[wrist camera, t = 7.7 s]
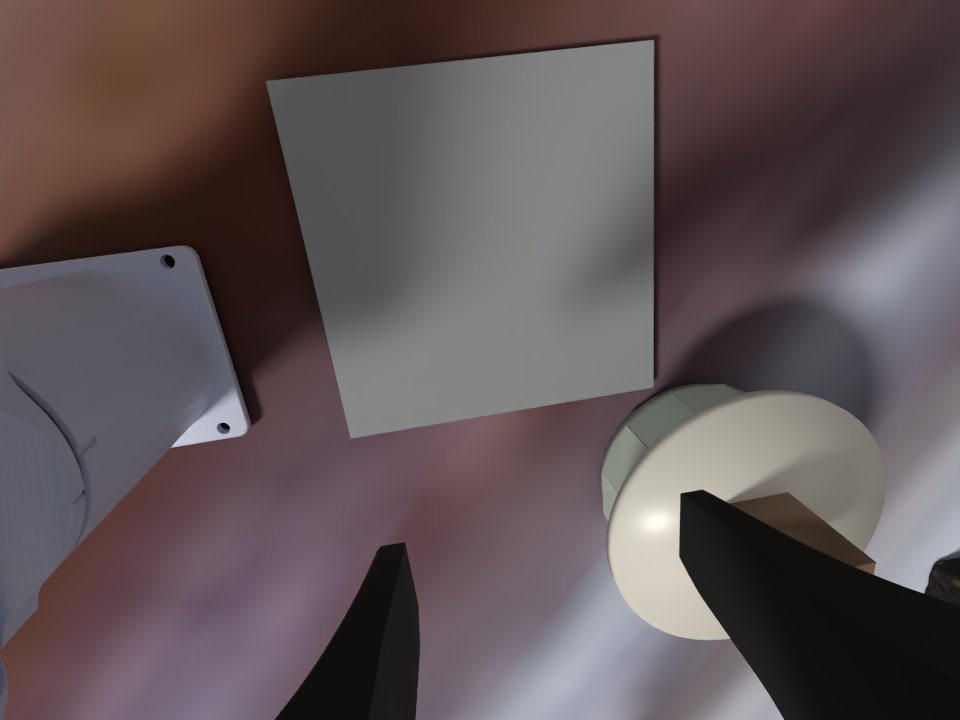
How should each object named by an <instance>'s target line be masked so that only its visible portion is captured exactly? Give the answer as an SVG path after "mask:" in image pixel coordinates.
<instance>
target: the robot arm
mask: <svg viewBox="0 0 960 720" xmlns="http://www.w3.org/2000/svg"><path fill="white" fill-rule="evenodd" d="M166 255H170V256H172V257H173V258H174V260H175V266H174V267H170V266H168V265H167V264H166V262H165V256H166ZM220 423H226V424H228V425H229V427H230V429H229V430H225V429H223V428H222V427H221V425H220ZM250 425H251V422H250V418H249V415H248V412H247V408H246V405H245V402H244V399H243V396H242V392H241V389H240V386H239V383H238V380H237V376H236V373H235V370H234V367H233V364H232V361H231V357H230V354H229V351H228V348H227V345H226V341H225V338H224V335H223V332H222V329H221V325H220V322H219V319H218V316H217V313H216V309H215V306H214V303H213V300H212V297H211V293H210V290H209V287H208V284H207V281H206V277H205V274H204V271H203V268H202V265H201V261H200V258H199V256H198V254H197V252H196V251H195V250H194V249H193V248H191V247H189V246H184V245H180V246H172V247H165V248H157V249H149V250H142V251H134V252H127V253H119V254H111V255H104V256H96V257H89V258H81V259H73V260H66V261H58V262H51V263H43V264H36V265H28V266H20V267H13V268H5V269H0V649H1V648H2V647H3V646H4V645H5V644H6V643H7V642H8V641H9V639H10V638H11V637H12V636H13V635H14V634H15V633H16V632H17V631H18V629H19V628H20V627H21V626H22V625H23V624H24V623H25V622H26V621H27V619H28V618H29V617H30V616H31V615H32V614H33V613H34V612H35V611H36V609H37V608H38V593H39V590H40V587H41V586H42V584H43V583H44V581H45V580H46V579H47V578H48V577H49V576H50V575H51V574H52V573H53V572H54V571H55V570H56V569H57V568H58V567H59V565H60V564H61V563H62V562H63V561H64V560H65V559H66V558H67V557H68V556H69V555H70V554H71V553H72V552H73V551H74V550H75V548H76V547H77V546H78V545H79V544H80V543H81V542H82V541H83V540H84V539H85V538H86V537H87V536H88V535H89V534H90V533H91V532H92V530H93V529H94V528H95V527H96V526H97V525H98V524H99V523H100V522H101V521H102V520H103V519H104V518H105V517H106V516H107V515H108V513H109V512H110V511H111V510H112V509H113V508H114V507H115V506H116V505H117V504H118V503H119V502H120V501H121V500H122V499H123V498H124V497H125V495H126V494H127V493H128V492H129V491H130V490H131V489H132V488H133V487H134V486H135V485H136V484H137V483H138V482H139V481H140V480H141V479H142V477H143V476H144V475H145V474H146V473H147V472H148V471H149V470H150V469H151V468H152V467H153V466H154V465H155V464H156V463H157V462H158V461H159V459H160V458H161V457H162V456H163V455H164V454H165V453H166V452H167V451H168V450H169V449H170V448H172V447H178V446H184V445H190V444H196V443H202V442H208V441H214V440H220V439H226V438H232V437H238V436H242V435H244V434H245V433H246V432H247V431H248V430H249V428H250ZM679 558H680V559H681V561H682V563H683V565H684V567H685V569H686V571H687V573H688V575H689V577H690V578H691V580H692V582H693V584H694V586H695V587H696V589H697V591H698V593H699V594H700V596H701V597H702V599H703V600H704V602H705V603H706V605H707V606H708V607H709V609H710V610H711V612H712V613H713V615H714V616H715V617H716V619H717V620H718V622H719V623H720V625H721V626H722V627H723V629H724V630H725V632H726V633H727V634H728V636H729V637H730V639H731V640H732V641H733V643H734V644H735V646H736V647H737V648H738V650H739V651H740V653H741V654H742V655H743V657H744V658H745V660H746V661H747V662H748V664H749V665H750V667H751V668H752V670H753V671H754V672H755V674H756V675H757V677H758V678H759V680H760V681H761V683H762V684H763V686H764V687H765V689H766V690H767V692H768V693H769V695H770V696H771V698H772V700H773V701H774V703H775V705H776V706H777V708H778V710H779V711H780V713H781V715H782V717H783V718H784V720H960V606H959V605H956V604H952V603H949V602H946V601H943V600H940V599H937V598H935V597H932V596H929V595H926V594H923V593H920V592H917V591H914V590H912V589H909V588H906V587H903V586H901V585H898V584H895V583H893V582H890V581H887V580H885V579H882V578H880V577H877V576H875V575H873V574H870V573H868V572H865V571H863V570H861V569H858V568H856V567H853V566H851V565H849V564H846V563H844V562H842V561H840V560H837V559H835V558H833V557H831V556H829V555H827V554H825V553H822V552H820V551H818V550H816V549H814V548H812V547H810V546H808V545H806V544H804V543H802V542H800V541H798V540H796V539H794V538H792V537H790V536H788V535H786V534H784V533H782V532H780V531H779V530H777V529H775V528H773V527H771V526H769V525H767V524H766V523H764V522H762V521H760V520H758V519H756V518H755V517H753V516H751V515H749V514H747V513H746V512H744V511H742V510H740V509H738V508H737V507H735V506H733V505H731V504H729V503H728V502H726V501H724V500H722V499H720V498H718V497H717V496H715V495H713V494H711V493H709V492H707V491H705V490H697V491H691V492H686V493H680V533H679ZM419 655H420V634H419V610H418V601H417V597H416V592H415V587H414V582H413V578H412V573H411V568H410V564H409V559H408V554H407V549H406V545H405V542H403V543H398V544H392V545H386V546H381V547H380V548H379V549H378V551H377V552H376V555H375V557H374V560H373V562H372V564H371V566H370V569H369V571H368V573H367V575H366V577H365V579H364V581H363V583H362V585H361V587H360V589H359V591H358V593H357V595H356V597H355V599H354V601H353V603H352V604H351V606H350V608H349V610H348V612H347V614H346V616H345V617H344V619H343V621H342V623H341V624H340V626H339V628H338V629H337V631H336V633H335V634H334V636H333V638H332V639H331V641H330V643H329V644H328V646H327V647H326V649H325V651H324V652H323V654H322V655H321V657H320V658H319V660H318V661H317V663H316V664H315V666H314V667H313V669H312V670H311V672H310V673H309V675H308V676H307V678H306V679H305V680H304V682H303V683H302V685H301V686H300V687H299V689H298V690H297V691H296V693H295V694H294V695H293V697H292V698H291V699H290V701H289V702H288V703H287V704H286V706H285V707H284V708H283V710H282V711H281V712H280V713H279V715H278V716H277V717H276V719H275V720H415V717H416V702H417V687H418V671H419ZM7 699H8V679H7V675H6V672H5V668H4V665H3V662H2V658H1V655H0V720H3V717H4V712H5V708H6V703H7Z"/></svg>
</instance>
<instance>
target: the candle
mask: <svg viewBox="0 0 960 720" xmlns="http://www.w3.org/2000/svg"><path fill="white" fill-rule="evenodd" d="M925 594H926V595H929V596H932V597H935V598H937V599H940V600H943V601H946V602H949V603H952V604H956V605H959V606H960V559H954V560H946V561H941V562H939V563H936V564H935V566H934V568H933V570H932V573H931V575H930V577H929V584H928V587H927V590H926V592H925Z"/></svg>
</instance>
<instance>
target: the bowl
mask: <svg viewBox="0 0 960 720" xmlns="http://www.w3.org/2000/svg"><path fill="white" fill-rule="evenodd" d="M744 393H746V392H743V391H741V390H738V389H736V388H733V387H731V386H728V385H726V384H711V383H698V384H688V385H684V386H680V387H676V388H673V389H670V390H667V391H665V392H663V393H661V394H659V395H657V396H655V397H653V398H651V399H650V400H648V401H646V402H645V403H643V404H642V405H641V406H639V407H638V408H637V409H636V410H635V411H633V412H632V413H631V414H630V415H629V416H628V417H627V418H626V419H625V420H624V421H623V423H622V424H621V425H620V426H619V428H618V429H617V430H616V432H615V433H614V435H613V437H612V438H611V440H610V442H609V444H608V446H607V448H606V450H605V453H604V456H603V460H602V464H601V469H600V489H601V495H602V498H603V513H604V515H605V517H606V519H607V520H608V522H609V517H610V513H611V510H612V507H613V504H614V501H615V498H616V496H617V494H618V492H619V490H620V488H621V486H622V484H623V482H624V480H625V478H626V477H627V475H628V474H629V472H630V471H631V469H632V468H633V466H634V465H635V464H636V462H637V461H638V460H639V459H640V457H641V456H642V455H643V454H644V453H645V451H646V450H647V449H648V448H649V447H650V446H651V445H652V444H653V443H654V442H655V441H656V440H657V439H658V438H659V437H660V436H662V435H663V434H664V433H665V432H667V431H668V430H669V429H670V428H672V427H673V426H674V425H675V424H677V423H678V422H680V421H681V420H683V419H685V418H686V417H688V416H689V415H691V414H692V413H694V412H696V411H698V410H700V409H702V408H704V407H706V406H708V405H710V404H712V403H715V402H717V401H720V400H723V399H726V398H729V397H731V396H735V395H739V394H744Z"/></svg>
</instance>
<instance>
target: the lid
mask: <svg viewBox="0 0 960 720" xmlns="http://www.w3.org/2000/svg"><path fill="white" fill-rule="evenodd" d="M885 488H886V487H885V469H884V464H883V458H882V456H881V453H880V450H879V448H878V445H877V443H876V441H875V440H874V438H873V436H872V435H871V433H870V432H869V430H868V429H867V428H866V427H865V426H864V425H863V424H862V423H861V421H860V420H858V419H857V418H856V417H854V416H853V415H852V414H851V413H849V412H848V411H846V410H844V409H842V408H840V407H838V406H837V405H835V404H833V403H831V402H829V401H827V400H825V399H823V398H820V397H817V396H814V395H811V394H808V393H804V392H798V391H792V390H762V391H753V392H748V393H744V394H739V395H735V396H731V397H729V398H726V399H723V400H720V401H717V402H715V403H712V404H710V405H708V406H706V407H704V408H702V409H700V410H698V411H696V412H694V413H692V414H691V415H689V416H688V417H686V418H685V419H683V420H681V421H680V422H678V423H677V424H675V425H674V426H673V427H672V428H670V429H669V430H668V431H667V432H665V433H664V434H663V435H662V436H660V437H659V438H658V439H657V440H656V441H655V442H654V443H653V444H652V445H651V446H650V447H649V448H648V449H647V450H646V451H645V453H644V454H643V455H642V456H641V457H640V459H639V460H638V461H637V462H636V464H635V465H634V466H633V468H632V469H631V471H630V472H629V474H628V475H627V477H626V478H625V480H624V482H623V484H622V486H621V488H620V490H619V492H618V494H617V496H616V498H615V501H614V504H613V507H612V510H611V513H610V517H609V522H608V527H607V539H606V549H607V557H608V563H609V566H610V570H611V573H612V576H613V578H614V580H615V582H616V584H617V586H618V588H619V590H620V592H621V594H622V596H623V598H624V599H625V600H626V602H627V603H628V605H629V606H630V607H631V609H632V610H633V611H634V612H635V613H636V614H637V615H639V616H640V617H641V618H642V619H643V620H645V621H646V622H647V623H649V624H650V625H652V626H653V627H655V628H658V629H660V630H662V631H664V632H666V633H669V634H672V635H676V636H679V637H684V638H690V639H698V640H720V639H730V637H729V636H728V634H727V633H726V632H725V630H724V629H723V627H722V626H721V625H720V623H719V622H718V620H717V619H716V617H715V616H714V615H713V613H712V612H711V610H710V609H709V607H708V606H707V605H706V603H705V602H704V600H703V599H702V597H701V596H700V594H699V593H698V591H697V589H696V587H695V586H694V584H693V582H692V580H691V578H690V577H689V575H688V573H687V571H686V569H685V567H684V565H683V563H682V561H681V559H680V558H679V533H680V493H686V492H691V491H697V490H705V491H707V492H709V493H711V494H713V495H715V496H717V497H718V498H720V499H722V500H724V501H726V502H728V503H729V504H731V505H733V506H735V507H737V508H738V509H740V510H742V511H744V512H746V513H747V514H749V515H751V516H753V517H755V518H756V519H758V520H760V521H762V522H764V523H766V524H767V525H769V526H771V527H773V528H775V529H777V530H779V531H780V532H782V533H784V534H786V535H788V536H790V537H792V538H794V539H796V540H798V541H800V542H802V543H804V544H806V545H808V546H810V547H812V548H814V549H816V550H818V551H820V552H822V553H825V554H827V555H829V556H831V557H833V558H835V559H837V560H840V561H842V562H844V563H846V564H849V565H851V566H853V567H856V568H858V569H861V570H863V571H865V572H868V573H870V574H873V575H874V570H875V565H876V562H875V561H874V560H872V559H871V558H870V557H869V556H867V555H866V554H865V553H864V550H865V549H866V547H867V545H868V543H869V541H870V539H871V537H872V536H873V534H874V531H875V529H876V526H877V524H878V521H879V519H880V515H881V511H882V507H883V503H884V496H885Z"/></svg>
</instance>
